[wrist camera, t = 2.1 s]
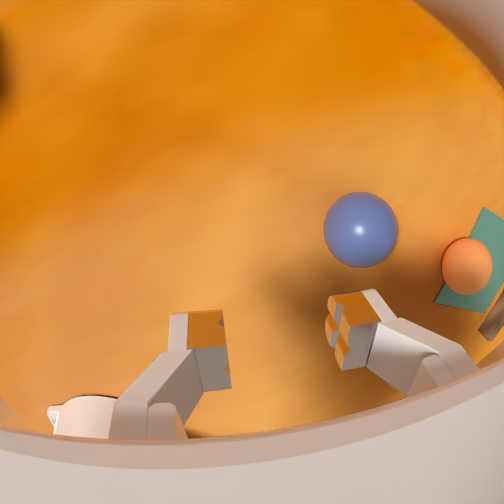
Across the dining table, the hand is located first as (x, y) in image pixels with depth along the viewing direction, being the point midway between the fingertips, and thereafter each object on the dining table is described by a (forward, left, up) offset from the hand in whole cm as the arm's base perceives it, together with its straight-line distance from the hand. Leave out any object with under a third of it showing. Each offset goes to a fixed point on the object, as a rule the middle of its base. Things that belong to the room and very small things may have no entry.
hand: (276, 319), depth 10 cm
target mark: (0, -31, -15) cm, 34 cm away
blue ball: (0, -10, -12) cm, 16 cm away
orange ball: (0, -24, -12) cm, 27 cm away
